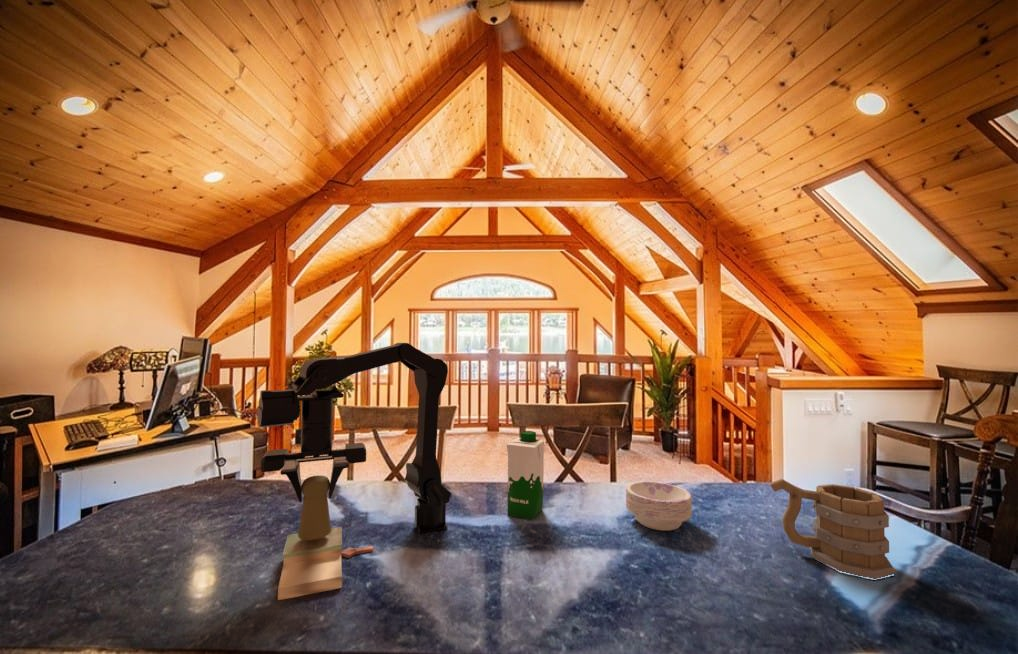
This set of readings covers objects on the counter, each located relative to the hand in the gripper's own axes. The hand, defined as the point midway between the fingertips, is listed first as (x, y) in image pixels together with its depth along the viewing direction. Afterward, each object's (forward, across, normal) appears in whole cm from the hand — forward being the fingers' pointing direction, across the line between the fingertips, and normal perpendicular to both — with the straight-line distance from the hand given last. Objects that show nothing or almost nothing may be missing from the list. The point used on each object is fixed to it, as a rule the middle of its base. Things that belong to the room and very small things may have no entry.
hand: (315, 499), depth 84 cm
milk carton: (+12, -49, -6) cm, 51 cm away
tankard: (+13, -98, +37) cm, 105 cm away
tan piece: (+12, -3, +4) cm, 13 cm away
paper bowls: (+12, -77, +11) cm, 79 cm away
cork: (+7, 0, 0) cm, 7 cm away
